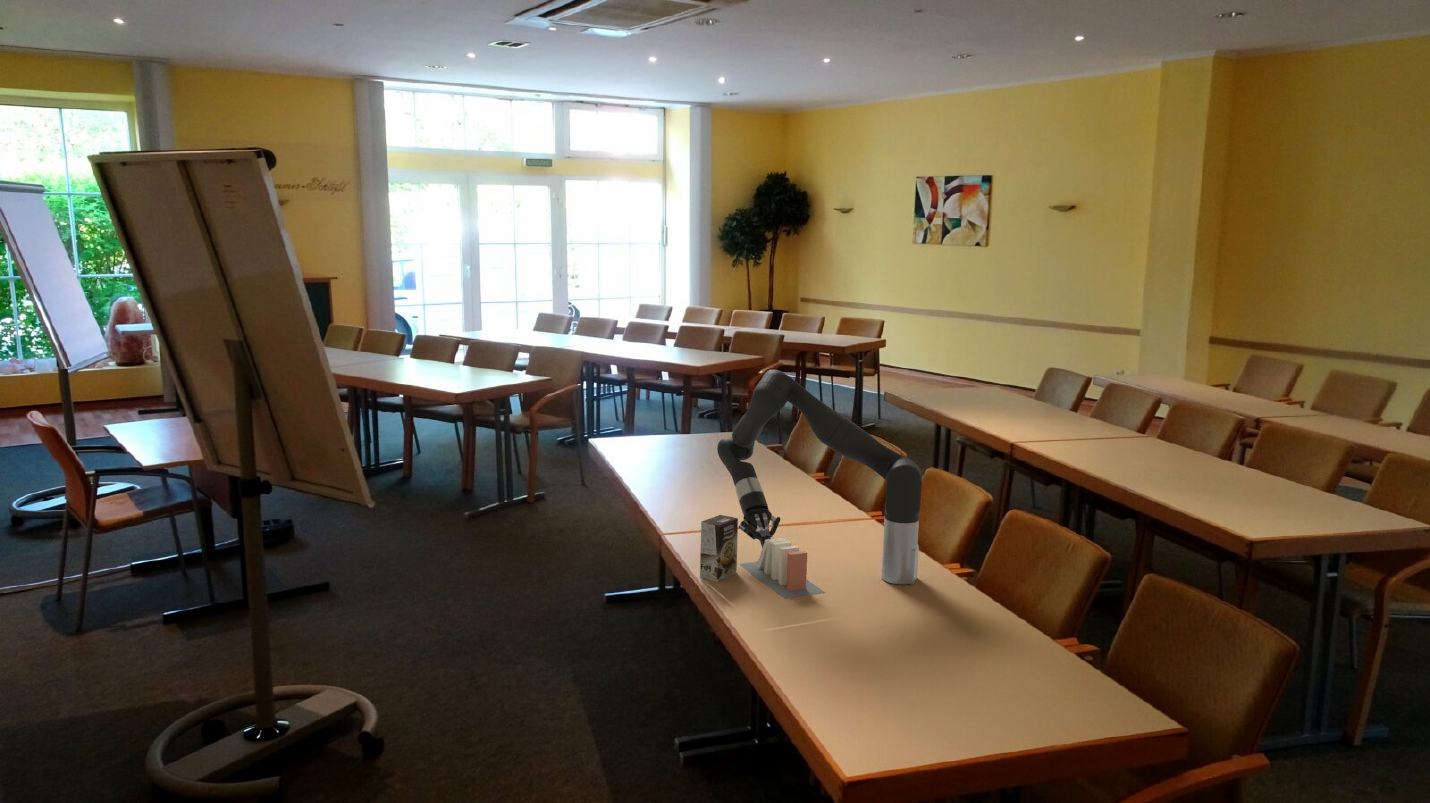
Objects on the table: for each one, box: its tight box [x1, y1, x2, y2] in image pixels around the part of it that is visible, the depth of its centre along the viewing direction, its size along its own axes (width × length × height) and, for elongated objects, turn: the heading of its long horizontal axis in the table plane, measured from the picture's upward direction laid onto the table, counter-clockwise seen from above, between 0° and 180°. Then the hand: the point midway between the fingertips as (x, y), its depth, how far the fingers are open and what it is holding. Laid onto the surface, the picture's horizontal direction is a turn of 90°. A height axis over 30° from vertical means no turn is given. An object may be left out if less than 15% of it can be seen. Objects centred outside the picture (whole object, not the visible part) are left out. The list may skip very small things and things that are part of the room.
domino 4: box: [779, 545, 800, 585], centre depth 257 cm, size 5×2×10 cm, turn 114°
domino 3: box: [771, 540, 792, 580], centre depth 261 cm, size 5×2×10 cm, turn 113°
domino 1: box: [757, 537, 779, 569], centre depth 267 cm, size 5×2×10 cm, turn 113°
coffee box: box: [699, 514, 739, 582], centre depth 262 cm, size 9×6×16 cm
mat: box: [739, 561, 826, 600], centre depth 261 cm, size 28×12×1 cm, turn 23°
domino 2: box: [764, 537, 788, 574], centre depth 264 cm, size 5×2×10 cm, turn 114°
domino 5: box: [786, 550, 808, 591], centre depth 253 cm, size 5×2×10 cm, turn 113°
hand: (768, 550), depth 267 cm, fingers closed
